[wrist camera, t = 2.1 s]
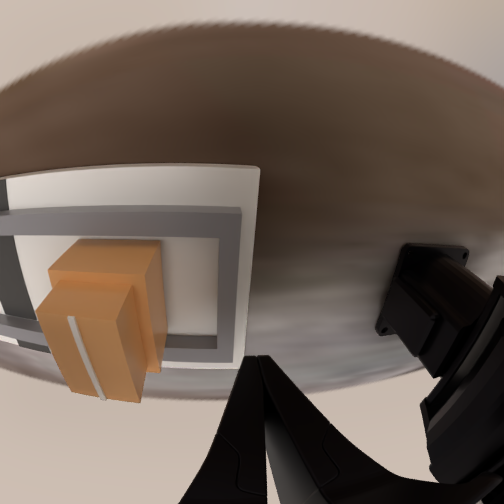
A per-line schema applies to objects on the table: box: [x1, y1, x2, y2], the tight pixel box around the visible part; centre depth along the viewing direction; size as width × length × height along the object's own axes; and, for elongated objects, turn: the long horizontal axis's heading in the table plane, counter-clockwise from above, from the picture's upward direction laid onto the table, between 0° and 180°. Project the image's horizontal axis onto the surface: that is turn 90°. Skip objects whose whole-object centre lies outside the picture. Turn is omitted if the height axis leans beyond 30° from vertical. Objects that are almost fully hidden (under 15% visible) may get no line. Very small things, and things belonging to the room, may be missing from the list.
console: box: [0, 163, 260, 369], centre depth 12 cm, size 20×11×2 cm, turn 86°
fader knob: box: [35, 239, 168, 403], centre depth 10 cm, size 4×5×5 cm
